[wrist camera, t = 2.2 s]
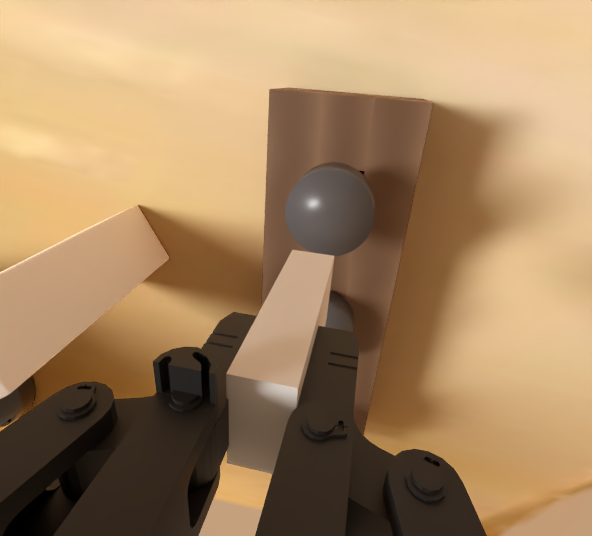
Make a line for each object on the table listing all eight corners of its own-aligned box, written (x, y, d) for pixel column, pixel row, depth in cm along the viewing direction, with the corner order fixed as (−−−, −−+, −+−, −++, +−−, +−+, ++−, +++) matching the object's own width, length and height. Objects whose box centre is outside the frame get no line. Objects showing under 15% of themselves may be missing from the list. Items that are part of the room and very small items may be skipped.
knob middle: (298, 310, 36) (282, 356, 30) (302, 261, 34) (286, 300, 28) (352, 319, 35) (347, 368, 29) (360, 270, 33) (356, 312, 27)
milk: (126, 275, 40) (-110, 459, 21) (92, 224, 39) (-202, 373, 19) (171, 257, 38) (-43, 442, 19) (138, 202, 36) (-140, 344, 17)
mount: (271, 398, 44) (256, 442, 39) (288, 87, 30) (269, 89, 24) (359, 416, 43) (357, 464, 37) (422, 99, 28) (433, 103, 23)
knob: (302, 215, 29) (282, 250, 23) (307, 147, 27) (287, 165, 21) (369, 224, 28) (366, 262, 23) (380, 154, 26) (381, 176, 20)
